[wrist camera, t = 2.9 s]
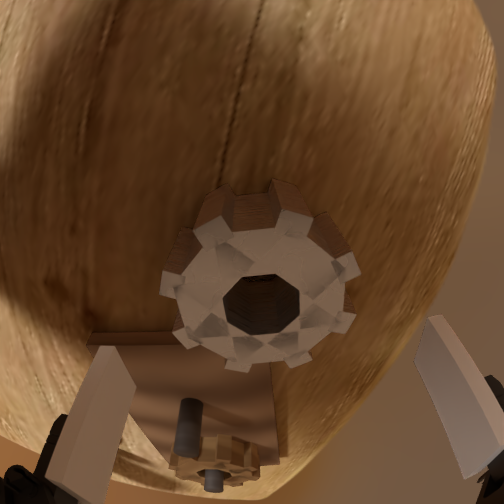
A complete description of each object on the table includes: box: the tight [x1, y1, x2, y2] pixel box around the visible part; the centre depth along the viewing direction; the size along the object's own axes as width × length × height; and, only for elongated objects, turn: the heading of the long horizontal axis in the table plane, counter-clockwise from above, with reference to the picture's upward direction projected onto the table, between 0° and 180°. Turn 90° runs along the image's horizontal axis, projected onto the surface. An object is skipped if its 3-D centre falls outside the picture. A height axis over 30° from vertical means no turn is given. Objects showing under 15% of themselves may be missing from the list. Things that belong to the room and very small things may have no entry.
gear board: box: [86, 331, 280, 493], centre depth 24 cm, size 23×14×6 cm, turn 6°
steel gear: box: [159, 178, 361, 373], centre depth 17 cm, size 10×10×5 cm
